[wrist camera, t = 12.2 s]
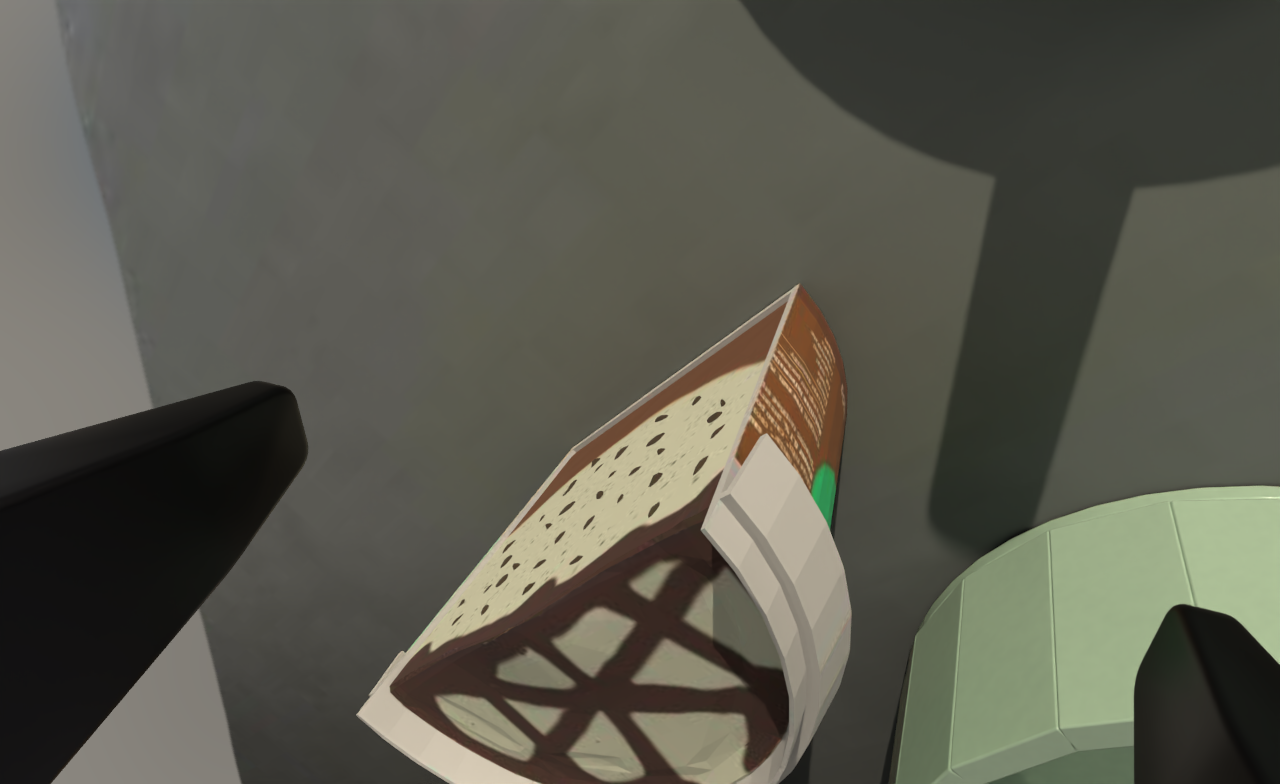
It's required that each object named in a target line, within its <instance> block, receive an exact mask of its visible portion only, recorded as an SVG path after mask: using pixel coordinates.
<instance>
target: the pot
mask: <svg viewBox="0 0 1280 784" xmlns="http://www.w3.org/2000/svg"><path fill="white" fill-rule="evenodd" d="M1178 604H1187V605H1192V606H1196V607H1200V608H1204V609H1208V610H1212V611H1216V612H1221V613H1225V614H1227V615H1230V616H1232V617H1234V618H1235V619H1236V620H1238V621H1239V622H1240V623H1241V624H1242V625H1243V626H1244V627H1245V628H1246V629H1247V630H1248V631H1249V632H1250V634H1251V635H1252V636H1253V637H1254V638H1255V639H1256V640H1257V641H1258V642H1259V643H1260V644H1261V645H1262V646H1263V647H1264V648H1265V649H1266V651H1267V652H1268V653H1269V654H1270V655H1271V656H1272V657H1273V658H1274V659H1275V660H1276V661H1277V662H1278V663H1279V664H1280V486H1261V485H1259V486H1231V487H1203V488H1194V489H1186V490H1178V491H1170V492H1162V493H1154V494H1146V495H1141V496H1137V497H1132V498H1128V499H1123V500H1119V501H1114V502H1110V503H1105V504H1101V505H1096V506H1093V507H1090V508H1087V509H1084V510H1081V511H1078V512H1075V513H1072V514H1069V515H1066V516H1063V517H1060V518H1057V519H1053V520H1051V521H1048V522H1046V523H1044V524H1042V525H1040V526H1037V527H1035V528H1033V529H1031V530H1029V531H1027V532H1024V533H1022V534H1020V535H1018V536H1016V537H1014V538H1012V539H1010V540H1008V541H1007V542H1005V543H1004V544H1002V545H1000V546H999V547H997V548H995V549H994V550H992V551H991V552H989V553H987V554H986V555H984V556H983V557H981V558H979V559H978V560H977V561H976V562H975V563H973V564H972V565H971V566H970V567H969V568H968V569H966V570H965V571H964V572H963V573H962V574H960V575H959V576H958V577H957V578H956V579H954V580H953V581H952V583H951V584H950V585H949V586H948V587H947V588H946V589H945V591H944V592H943V593H942V594H941V595H940V596H939V598H938V599H937V600H936V601H935V602H934V603H933V605H932V606H931V608H930V610H929V611H928V613H927V615H926V616H925V618H924V620H923V621H922V623H921V625H920V627H919V628H918V631H917V634H916V636H915V639H914V642H913V645H912V648H911V651H910V654H909V661H908V667H907V671H906V676H905V680H904V684H903V688H902V692H901V698H900V705H899V712H898V719H897V726H896V733H895V740H894V747H893V754H892V761H891V768H890V775H889V782H888V784H1134V686H1135V680H1136V675H1137V672H1138V669H1139V666H1140V664H1141V662H1142V660H1143V658H1144V656H1145V654H1146V652H1147V650H1148V648H1149V646H1150V644H1151V642H1152V640H1153V638H1154V636H1155V634H1156V633H1157V631H1158V629H1159V627H1160V625H1161V623H1162V621H1163V619H1164V617H1165V615H1166V614H1167V612H1168V611H1169V610H1170V609H1171V608H1172V607H1173V606H1175V605H1178Z"/></svg>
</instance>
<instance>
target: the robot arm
mask: <svg viewBox="0 0 1280 784" xmlns="http://www.w3.org/2000/svg"><path fill="white" fill-rule="evenodd" d="M307 455H308V442H307V438H306V435H305V431H304V427H303V423H302V419H301V416H300V412H299V408H298V404H297V400H296V398H295V396H294V394H293V393H292V392H291V390H289V389H288V388H286V387H284V386H280V385H275V384H271V383H267V382H262V381H253V382H249V383H245V384H241V385H238V386H234V387H230V388H227V389H223V390H220V391H216V392H212V393H209V394H205V395H201V396H198V397H194V398H191V399H187V400H183V401H180V402H176V403H172V404H169V405H165V406H162V407H158V408H154V409H151V410H147V411H144V412H140V413H136V414H133V415H129V416H125V417H122V418H118V419H115V420H111V421H107V422H104V423H100V424H96V425H93V426H89V427H86V428H82V429H78V430H75V431H71V432H67V433H64V434H60V435H57V436H53V437H49V438H46V439H42V440H38V441H35V442H31V443H28V444H24V445H20V446H17V447H13V448H9V449H6V450H2V451H0V784H51V783H52V782H53V780H54V779H55V778H56V777H57V776H58V774H59V773H60V772H61V771H62V769H64V767H65V766H66V765H67V764H68V762H69V761H70V760H71V759H72V758H73V757H74V755H75V754H76V753H77V752H78V751H79V750H80V748H81V747H82V746H83V745H84V744H85V743H86V741H87V740H88V739H89V738H90V737H91V735H92V734H93V733H94V732H95V731H96V729H97V728H98V727H99V726H100V725H101V724H102V722H103V721H104V720H105V719H106V718H107V716H108V715H109V714H110V713H111V712H112V710H113V709H114V708H115V707H116V706H117V705H118V703H119V702H120V701H121V700H122V699H123V697H124V696H125V695H126V694H127V693H128V692H129V690H130V689H131V688H132V687H133V686H134V684H135V683H136V682H137V681H138V680H139V678H140V677H141V676H142V675H143V674H144V673H145V671H146V670H147V669H148V668H149V667H150V665H151V664H152V663H153V662H154V660H155V659H156V658H157V657H158V656H159V654H161V652H162V651H163V650H164V649H165V648H166V646H167V645H168V644H169V643H170V642H171V641H172V639H173V638H174V637H175V636H176V635H177V633H178V632H179V631H180V630H181V628H182V627H183V626H184V625H185V624H186V623H187V622H188V620H189V619H190V618H191V617H192V616H193V615H194V613H195V612H196V611H197V610H198V609H199V607H200V606H201V605H202V604H203V603H204V601H205V600H206V599H207V598H208V597H209V596H210V594H211V593H212V592H213V591H214V590H215V588H216V587H217V586H218V585H219V584H220V582H221V581H222V580H223V579H224V577H225V576H226V575H227V574H228V572H229V571H230V570H231V569H232V567H233V566H234V565H235V563H236V562H237V560H238V559H239V558H240V556H241V555H242V554H243V552H244V551H245V549H246V548H247V546H248V545H249V544H250V542H251V541H252V539H253V538H254V536H255V535H256V534H257V532H258V531H259V529H260V528H261V526H262V525H263V523H264V522H265V521H266V519H267V518H268V516H269V515H270V513H271V512H272V511H273V509H274V508H275V506H276V505H277V503H278V502H279V501H280V499H281V498H282V496H283V495H284V493H285V492H286V490H287V489H288V488H289V486H290V485H291V483H292V482H293V480H294V479H295V478H296V476H297V475H298V473H299V472H300V470H301V469H302V467H303V466H304V464H305V461H306V459H307ZM1134 784H1280V664H1279V663H1278V662H1277V661H1276V660H1275V659H1274V658H1273V657H1272V656H1271V655H1270V654H1269V653H1268V652H1267V651H1266V649H1265V648H1264V647H1263V646H1262V645H1261V644H1260V643H1259V642H1258V641H1257V640H1256V639H1255V638H1254V637H1253V636H1252V635H1251V634H1250V632H1249V631H1248V630H1247V629H1246V628H1245V627H1244V626H1243V625H1242V624H1241V623H1240V622H1239V621H1238V620H1236V619H1235V618H1234V617H1232V616H1230V615H1227V614H1225V613H1221V612H1216V611H1212V610H1208V609H1204V608H1200V607H1196V606H1192V605H1187V604H1178V605H1175V606H1173V607H1172V608H1171V609H1170V610H1169V611H1168V612H1167V614H1166V615H1165V617H1164V619H1163V621H1162V623H1161V625H1160V627H1159V629H1158V631H1157V633H1156V634H1155V636H1154V638H1153V640H1152V642H1151V644H1150V646H1149V648H1148V650H1147V652H1146V654H1145V656H1144V658H1143V660H1142V662H1141V664H1140V666H1139V669H1138V672H1137V675H1136V680H1135V686H1134Z"/></svg>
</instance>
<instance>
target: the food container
mask: <svg viewBox="0 0 1280 784" xmlns="http://www.w3.org/2000/svg"><path fill="white" fill-rule="evenodd" d="M846 416H847V383H846V377H845V371H844V365H843V360H842V357H841V355H840V352H839V349H838V346H837V343H836V340H835V337H834V335H833V333H832V331H831V329H830V327H829V325H828V324H827V322H826V320H825V318H824V316H823V314H822V312H821V310H820V309H819V308H818V306H817V305H816V304H815V302H814V301H813V300H812V298H811V297H810V296H809V294H808V293H807V292H806V290H805V289H804V288H803V286H802V285H801V284H798V285H797V286H795V287H794V288H793V289H791V290H790V291H789V292H787V293H786V294H784V295H783V296H782V297H780V298H779V299H777V300H776V301H775V302H773V303H772V304H771V305H769V306H768V307H766V308H765V309H764V310H762V311H761V312H760V313H758V314H757V315H755V316H754V317H753V318H751V319H750V320H748V321H747V322H746V323H744V324H743V325H742V326H740V327H739V328H737V329H736V330H735V331H733V332H732V333H730V334H729V335H728V336H726V337H725V338H724V339H722V340H721V341H719V342H718V343H717V344H715V345H714V346H713V347H711V348H710V349H708V350H707V351H706V352H704V353H703V354H701V355H700V356H699V357H697V358H696V359H695V360H693V361H692V362H690V363H689V364H688V365H686V366H685V367H684V368H682V369H681V370H679V371H678V372H677V373H675V374H674V375H672V376H671V377H670V378H668V379H667V380H666V381H664V382H663V383H661V384H660V385H659V386H657V387H656V388H654V389H653V390H652V391H650V392H649V393H648V394H646V395H645V396H643V397H642V398H641V399H639V400H638V401H637V402H635V403H634V404H632V405H631V406H630V407H628V408H627V409H625V410H624V411H623V412H621V413H620V414H619V415H617V416H616V417H614V418H613V419H612V420H610V421H609V422H608V423H606V424H605V425H603V426H602V427H601V428H599V429H598V430H596V431H595V432H594V433H592V434H591V435H590V436H588V437H587V438H585V439H584V440H583V441H581V442H580V443H578V444H577V445H576V446H574V447H573V448H572V449H571V450H570V451H569V453H568V454H567V455H566V456H565V458H564V459H563V460H562V461H561V462H560V464H559V465H558V466H557V467H556V469H555V470H554V471H553V472H552V474H551V475H550V476H549V477H548V478H547V480H546V481H545V482H544V483H543V485H542V486H541V487H540V488H539V490H538V491H537V492H536V493H535V494H534V496H533V497H532V498H531V499H530V501H529V502H528V503H527V504H526V506H525V507H524V508H523V509H522V510H521V512H520V513H519V514H518V515H517V517H516V518H515V519H514V520H513V522H512V523H511V524H510V525H509V526H508V528H507V529H506V530H505V531H504V533H503V534H502V535H501V536H500V538H499V539H498V540H497V541H496V542H495V544H494V545H493V546H492V547H491V549H490V550H489V551H488V552H487V554H486V555H485V556H484V557H483V558H482V560H481V561H480V562H479V563H478V565H477V566H476V567H475V568H474V570H473V571H472V572H471V573H470V574H469V576H468V577H467V578H466V579H465V581H464V582H463V583H462V584H461V586H460V587H459V588H458V589H457V590H456V592H455V593H454V594H453V595H452V597H451V598H450V599H449V600H448V602H447V603H446V604H445V605H444V606H443V608H442V609H441V610H440V611H439V613H438V614H437V615H436V616H435V618H434V619H433V620H432V621H431V622H430V624H429V625H428V626H427V627H426V629H425V630H424V631H423V632H422V634H421V635H420V636H419V637H418V638H417V640H416V641H415V642H414V643H413V645H412V646H411V647H410V648H409V650H408V651H407V652H406V653H405V652H403V651H401V652H400V653H399V654H398V655H397V656H396V658H395V659H394V661H393V662H392V663H391V665H390V666H389V668H388V669H387V670H386V672H385V673H384V675H383V676H382V677H381V679H380V680H379V682H378V683H377V684H376V686H375V687H374V689H373V690H372V691H371V693H370V694H369V696H370V698H369V699H368V700H367V702H366V703H365V704H364V705H363V707H362V708H361V709H360V711H359V712H358V713H357V715H356V716H357V717H359V718H360V719H361V720H362V721H363V722H364V723H366V724H367V725H368V726H369V727H370V728H371V729H372V730H374V731H375V732H376V733H377V734H378V735H379V736H381V737H382V738H383V739H384V740H385V741H387V742H388V743H390V744H391V745H392V746H394V747H395V748H396V749H398V750H399V751H401V752H402V753H403V754H405V755H406V756H407V757H409V758H410V759H412V760H413V761H414V762H416V763H417V764H419V765H421V766H422V767H424V768H425V769H427V770H429V771H430V772H432V773H433V774H435V775H437V776H438V777H440V778H441V779H443V780H445V781H446V782H448V783H450V784H779V783H780V782H781V781H782V780H783V779H784V778H785V777H786V776H788V775H789V774H790V773H791V772H792V771H793V769H794V768H795V766H796V765H797V763H798V761H799V760H800V758H801V756H802V755H803V753H804V752H805V750H806V748H807V747H808V745H809V743H810V741H811V740H812V738H813V736H814V734H815V732H816V730H817V728H818V726H819V724H820V723H821V721H822V719H823V717H824V715H825V713H826V711H827V709H828V707H829V705H830V704H831V702H832V700H833V698H834V696H835V694H836V692H837V690H838V688H839V686H840V684H841V680H842V677H843V673H844V670H845V666H846V663H847V659H848V656H849V652H850V636H851V613H852V612H851V606H850V600H849V594H848V588H847V583H846V577H845V571H844V567H843V564H842V562H841V559H840V556H839V554H838V551H837V548H836V546H835V543H834V540H833V537H832V535H831V532H830V526H831V519H832V513H833V506H834V499H835V492H836V485H837V478H838V471H839V464H840V458H841V451H842V444H843V437H844V430H845V423H846Z"/></svg>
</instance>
